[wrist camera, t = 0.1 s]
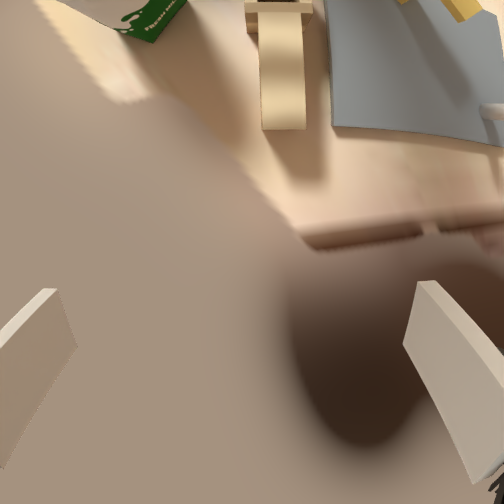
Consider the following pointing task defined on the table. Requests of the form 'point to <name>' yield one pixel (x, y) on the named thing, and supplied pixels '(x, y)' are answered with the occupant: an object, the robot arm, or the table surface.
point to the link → (280, 60)
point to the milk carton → (130, 15)
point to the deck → (416, 67)
